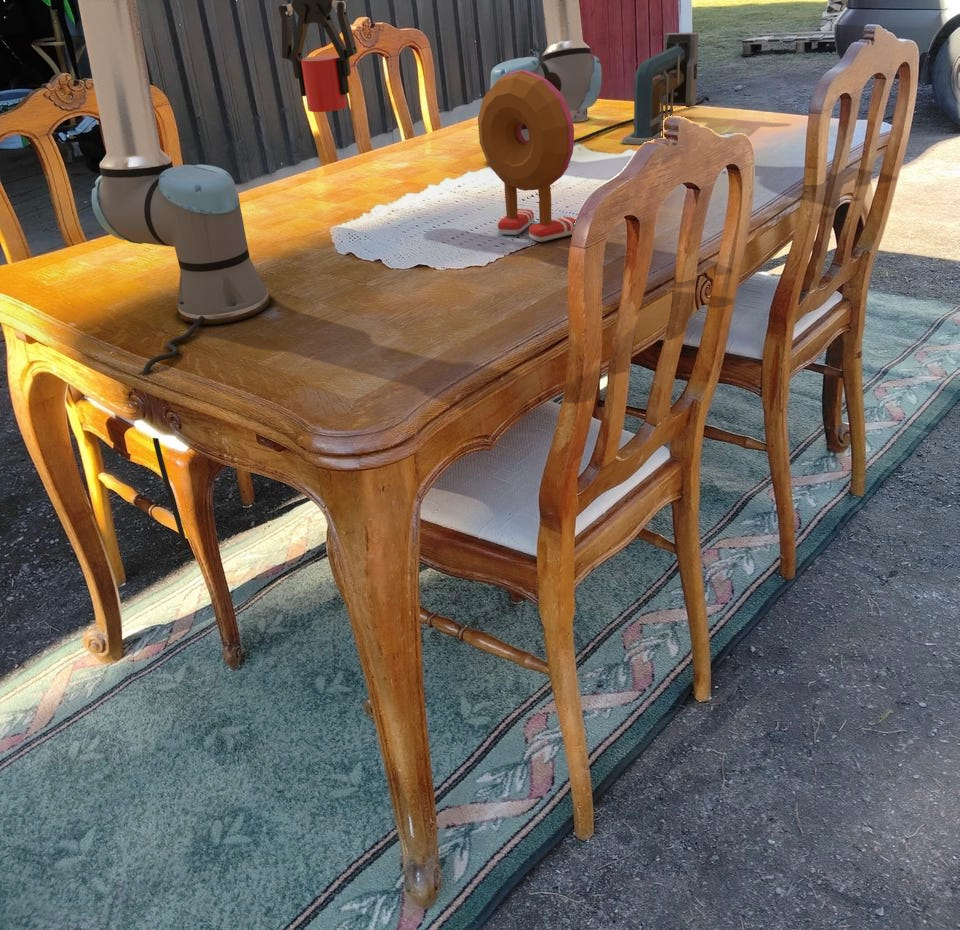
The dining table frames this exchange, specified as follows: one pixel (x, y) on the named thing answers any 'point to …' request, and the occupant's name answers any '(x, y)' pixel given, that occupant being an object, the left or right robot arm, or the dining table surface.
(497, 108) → the toy
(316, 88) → the can
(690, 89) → the clamp
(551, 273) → the dining table surface
